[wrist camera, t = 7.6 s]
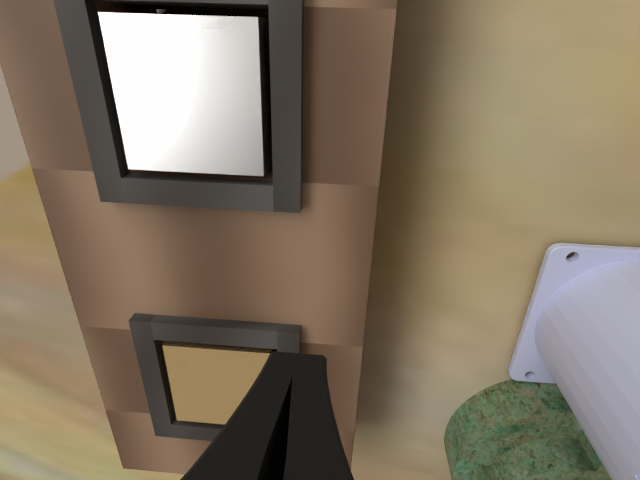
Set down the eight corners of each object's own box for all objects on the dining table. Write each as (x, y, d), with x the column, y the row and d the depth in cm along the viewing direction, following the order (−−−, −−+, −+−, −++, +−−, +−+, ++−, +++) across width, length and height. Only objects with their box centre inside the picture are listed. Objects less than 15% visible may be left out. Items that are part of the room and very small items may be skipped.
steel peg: (282, 21, 15) (258, 17, 11) (284, 145, 17) (263, 176, 13) (162, 18, 15) (98, 12, 11) (178, 140, 17) (128, 169, 13)
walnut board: (401, -148, 13) (422, -234, 9) (349, 423, 24) (348, 499, 20) (32, -151, 13) (-107, -231, 9) (156, 406, 25) (118, 477, 21)
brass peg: (285, 294, 20) (270, 353, 16) (286, 362, 22) (272, 428, 18) (197, 288, 20) (162, 345, 17) (206, 356, 22) (176, 420, 19)
